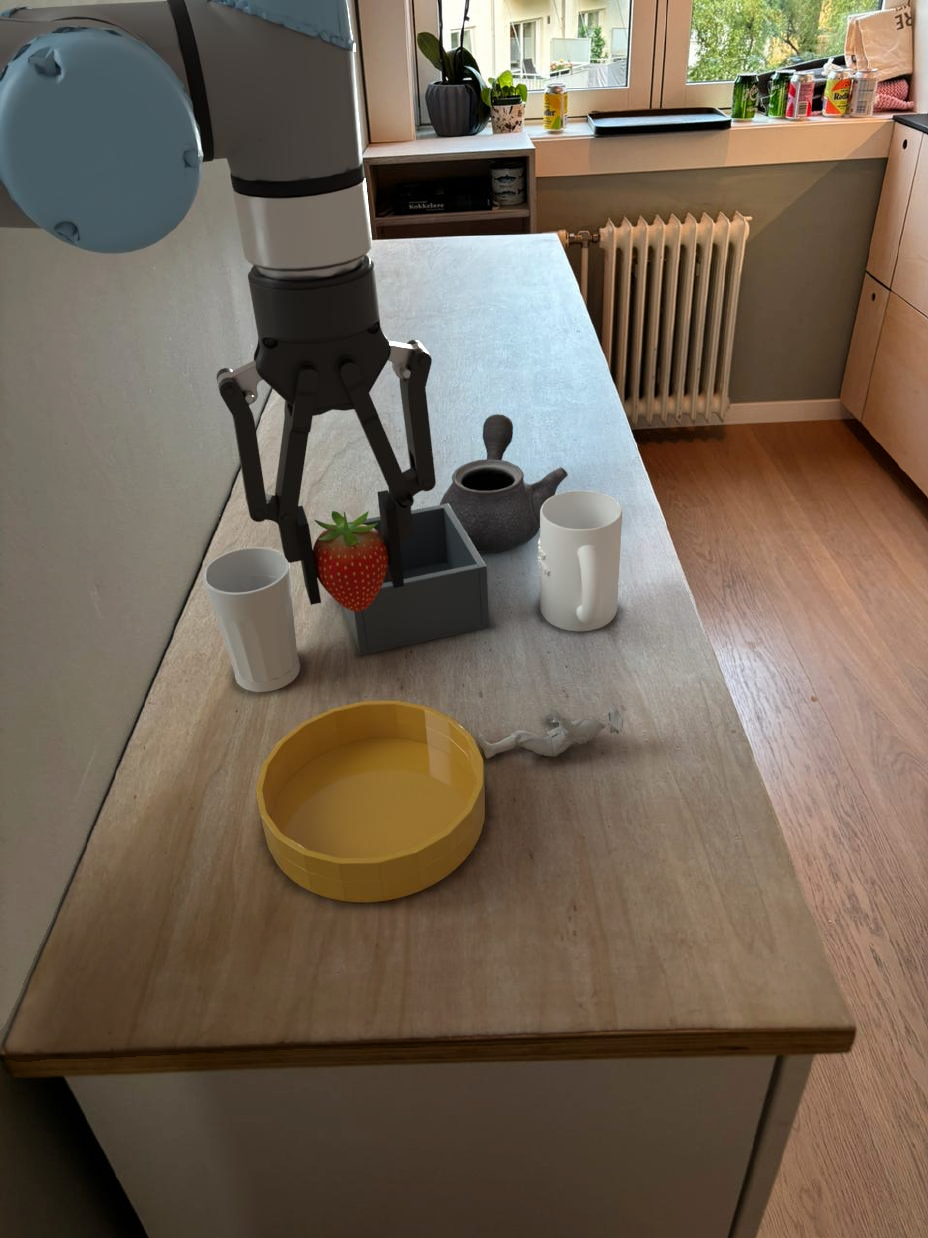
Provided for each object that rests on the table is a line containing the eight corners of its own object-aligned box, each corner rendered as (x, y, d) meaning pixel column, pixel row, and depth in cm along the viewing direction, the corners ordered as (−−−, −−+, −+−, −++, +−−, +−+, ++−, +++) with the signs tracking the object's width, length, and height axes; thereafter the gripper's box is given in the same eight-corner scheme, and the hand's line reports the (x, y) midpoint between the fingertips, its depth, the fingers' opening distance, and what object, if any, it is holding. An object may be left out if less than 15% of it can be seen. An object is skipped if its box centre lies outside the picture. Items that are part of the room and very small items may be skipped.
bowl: (284, 930, 72) (274, 890, 69) (253, 766, 86) (244, 728, 84) (515, 866, 76) (514, 826, 73) (450, 719, 90) (447, 681, 87)
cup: (322, 675, 96) (304, 573, 89) (247, 708, 93) (222, 604, 85) (286, 637, 101) (267, 537, 94) (214, 666, 98) (188, 565, 91)
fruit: (328, 634, 70) (313, 538, 65) (314, 595, 74) (299, 502, 69) (401, 617, 71) (391, 522, 67) (383, 580, 75) (372, 488, 71)
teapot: (574, 554, 112) (576, 475, 106) (439, 563, 111) (433, 485, 105) (553, 477, 127) (553, 404, 121) (434, 485, 127) (429, 412, 121)
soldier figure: (481, 736, 89) (601, 681, 89) (503, 786, 89) (624, 730, 88) (474, 736, 82) (605, 675, 81) (498, 790, 81) (631, 729, 81)
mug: (549, 659, 96) (550, 556, 89) (533, 591, 106) (532, 493, 99) (632, 652, 97) (639, 548, 90) (608, 585, 106) (613, 486, 99)
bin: (360, 655, 98) (351, 594, 94) (334, 584, 109) (325, 526, 104) (489, 627, 101) (486, 566, 97) (452, 560, 112) (448, 503, 107)
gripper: (443, 225, 63) (461, 537, 76) (148, 262, 59) (222, 583, 73) (477, 256, 57) (490, 587, 70) (152, 299, 53) (232, 640, 67)
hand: (354, 584), depth 72 cm, fingers closed on fruit, 5 cm apart
